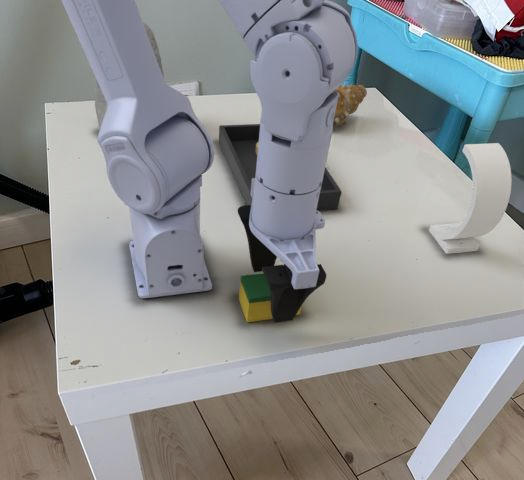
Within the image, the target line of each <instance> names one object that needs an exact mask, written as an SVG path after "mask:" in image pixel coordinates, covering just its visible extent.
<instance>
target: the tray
mask: <svg viewBox="0 0 524 480" xmlns="http://www.w3.org/2000/svg"><path fill="white" fill-rule="evenodd" d="M259 132H260V123H249V124H247V123H246V124H221V125H219V126H218V144H219V147H220V149H221V151H222V154H223V156H224V157H225V160H226V162H227V165H228V167H229V169H230V171H231V173H232V176H233V178H234V180H235V182H236V185H237V187H238V189H239V192H240V194H241V197H242V199H243V201H244V203H245V205H251V204H252V197H251V195H250V194H251V183H252V178H255V175H256V165H257V154H256V152H255V151H256V144H257V142H259ZM342 193H343V192H342V190H341V189H340V187H339V185H338V184H337V182H336V181H335V179H334V178H333V176H332V174H331V172H329V171H328V169H327V167H326V166H325V171H324V176H323V181H322V185H321V190H320V194H319V199H318V204H317V209H316V211H319V212H320V211H330V210H338V208H339V205H340V201H341V197H342Z"/></svg>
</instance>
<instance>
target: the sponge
mask: <svg viewBox="0 0 524 480" xmlns="http://www.w3.org/2000/svg"><path fill="white" fill-rule="evenodd" d="M239 282H240V283H239V292H238V293H239V294H238V301H239V304H240V307H241V310H242V312H243V316H244V318H245V321H246V323H251V322H260V321H266V320H273V318H272V314H271V295H270V289H269V285H268V283H267V281H266V279H265V276H264V274H263V272H260V273H254V274H246V275H241V276H240V281H239ZM302 307H303V304H302V305H301V307H300V309H299V310H298V312H297V314H296V315H295V316H300V315H301V313H302Z"/></svg>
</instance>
